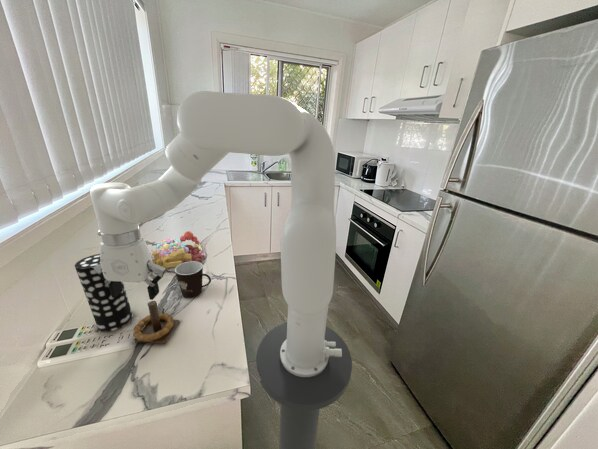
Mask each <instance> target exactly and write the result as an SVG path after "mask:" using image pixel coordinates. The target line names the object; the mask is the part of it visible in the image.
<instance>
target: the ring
mask: <svg viewBox="0 0 598 449" xmlns="http://www.w3.org/2000/svg"><path fill="white" fill-rule="evenodd" d="M159 317H160V320H164V321H166V325H165V327H164V328H163V329H161V330H160V331H158V332H155V333H152V334H143V333H142V332H141V331H142V330H143V328H144V327H145V326H146V325H147V324H148V323H149V322H151V317H150V314H149V315H147V316H146V317H144V318H142V319H140V320H139V321H138V323H136V325H135V326H134V327H133V332H132V336H133V338H134V339H135V338H136V339H137V340H138V341H145V342H150V341H153V340H156V339H159V338H161V337H163V336H164V335H166V334H167V333H168V332H169V331H170V330H171V328H172V327H173V325H174V322H173V319H174V317H173V316H172V315H170V314H168V313H166V312H159Z"/></svg>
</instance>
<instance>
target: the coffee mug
mask: <svg viewBox="0 0 598 449" xmlns="http://www.w3.org/2000/svg"><path fill="white" fill-rule="evenodd" d="M200 262H201V261H200ZM200 262H197V261H189V262H184V263H182V264H180V265H178V266H177V267H176V268H175V271H174V273H175V276H176V279H177V284H178V286H179V289H180V291H181V296H182V297H183V298H184V299H194V298H197V297H198V296H200V295H201V294H202V292H203V288H205V287H208V286H209V285H210V284H211V282H212V278H211V276H210V275H209V274H207V273H204V271H203V270H204V265H203V263H202V262H201V263H200ZM203 277H207V279H208V283H206V284H203Z"/></svg>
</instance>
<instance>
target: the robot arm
mask: <svg viewBox="0 0 598 449" xmlns="http://www.w3.org/2000/svg"><path fill="white" fill-rule="evenodd" d="M176 124H177V127H178V130H179V133H178V134H177V135H176V136H175V137H174V138H173V139H172V140H171V141H170V142H169V143H168V144H167V145H166V147H165V151H164V153H165V157H166V160H167V162H168V163H169V164H170V166H169V168H168V169H167V170H165V172H164V173H163V174H162V175H161V176H160V177H159V178H158V179H156V180H154V181H150V182H147V183H143V184H140V185H136V186H133V187H131V186H130V184H128V183H124V182H118V181H116V182H115V181H113V182H111V181H109V182H102V183H97V184H94V185H92V186H91V188H90V189H89V197H90V200H91V203H92V208H93V211H94V214H95V218H96V222H97V226H98V230H97V235H98V236H99V237H100V236H101V240H102V241H101V242H100V243H99V254H100V261H101V263H100V264H98V265H97V266H95V267H94V270H95V271H96V272H97V273H98V274H99V277H100V278H102V279H103V280H104V281H105V284H107V285H108V286H109V289H110V293H111V296H112V298H115V297H117V296H118V295H119V294H120V293H121V292H122V291H123V289H122V285H121V282H123V283H142V282H144V283H145V284H146V285H148V286H147V287H146V288H147V289H146V290H147V293H148V298H149V300H151V301H154V299H155V298H156V297H157V296H158V295H159V293H160V287H159V282H160V281H161V279H162V278H163V277H164V275H165V273H166V271H167V270H166V269H165V268H163V267H161V266H159V265H157V264H155V263H153V262H152V258H151V255H152V253H151V251H150V249H149V246H148V244H147V242H146V240H145V238H144V237H143V236H142V232H141V227H140V224H144V223H146V222H149V221H151V220H153V219H155V218H157V217H159V216H161V215H163V214H165V213H167V212H169V211H171V210H173V209H175V208H176V207H177V206H179V205H180V204H182V202H183V201H184V200H186V198H188V197H189V196H190V195H192V193H193V192H194V191H195V190H196V189H197V187H198V186H199V185H200V183H201V181H202V180H203V178H204V177H205V176H206V175H207V174H208V173H209V172H211V171H212V169H213V168H214V167H216V165H217V164H219V163H220V161H221V160H223V159H224V158H225V157H226V156H227V155H228V154H229V153H231V154H232V153H233V154H245V155H256V156H257V155H258V156H267V157H277V156H278V157H280V156H285V155H287V154H288V156H289V158H290V164H291V167H290V168H291V170H290V187H291V191H290V192H291V194H290V195H291V196H290V198H291V200H290V210H289V213H288V214H287V217H286V219H285V222H284V223H283V227H282V229H281V234H280V273H281V274H280V275H281V276H280V277H281V278H280V279H281V290H282V296H283V299H284V301H285V302H286V305H287V339H286V340H285V341H284V342H283V344H282V346H281V349H280V359H281V362H282V364H283V366H284V367H285V368H286V370H288V371H289V372H290V373H292V374H294V375H296V376H299V377H312V376H315V375H317V374H319V373H321V372H322V371H323V370H324V369H325V367H326V365H327V363H328V358H329V356H334V357H342V349H329V347H336V342H327V341H326V340H325V330H326V326H327V321H328V313H329V307H330V305H329V304H330V303H331V301H332V298H333V294H334V285H335V283H334V282H335V270H336V268H335V267H336V255H337V254H336V252H337V225H336V224H337V223H336V216H335V193H336V192H335V191H336V186H335V185H336V157H335V150H334V146H333V142H332V139H331V137H330V135H329V133H328V130H327V129H326V127H325V126H324V125H323V123H322V122H321V121H320V120H318V118H316V117H315V116H314V115H312V113H310V112H308V111H306V109H303V108H302V107H301V106H298V105H297V104H296V103H294V102H293V101H291V100H290V99H288V98H285V97H282V96H279V95H274V94H273V95H272V94H258V93H239V92H222V91H209V90H199V91H195V92H192V93H190V94H189V95H187V96H186V97H185V98H184V99H182V101H181V103H180V105H179V106H178V109H177V115H176ZM150 253H151V254H150ZM154 271H155V272H156V273H154ZM149 277H150V278H151V279H150V278H149Z"/></svg>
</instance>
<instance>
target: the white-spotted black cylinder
mask: <svg viewBox="0 0 598 449" xmlns="http://www.w3.org/2000/svg"><path fill="white" fill-rule="evenodd" d="M100 263H101V261H100V253H96V254H92V255H89V256H86V257H83V258H82V259H79V260H78V261H77V262H76V263H75V264H74V268H75V271H76V274H77V276H78V279H79V282H80V285H81V287H82V290H83V292H84V296H85V297H86V298H85V299H86V301H87V303H88V306H89V309H90V311H91V314H92V316H93V320H94V322H95V324H96V327H97V330H99V331H100V332H103V333H105V332H106V333H108V332H113V331H116V330H119V329H121V328H122V327H124V326H126V325H127V324H129V322H131V321H132V319H133V318H134V315H133V311H132V308H131V305H130V301H129V298H128V295H127V291H126V287H125V285H124V282H121V285H122V289H123V291H122V292H121V293H120V294H119V295H118V296H117V297H115V298H112V296H111V293H110V289H109V286H108V285H107V284H105V281H104V280H103V279H102V278H100V277H99V274H98V273H97V272H96V271H95V270H94V267H95V266H97V265H98V264H100Z"/></svg>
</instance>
